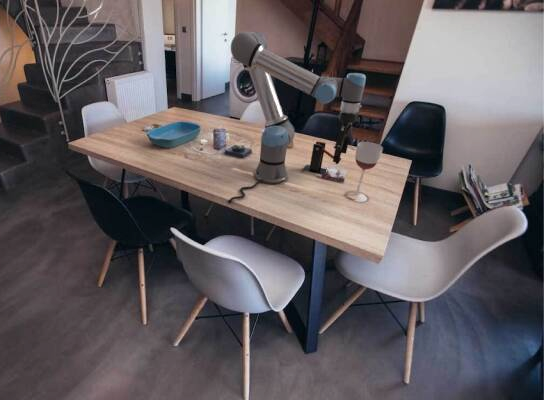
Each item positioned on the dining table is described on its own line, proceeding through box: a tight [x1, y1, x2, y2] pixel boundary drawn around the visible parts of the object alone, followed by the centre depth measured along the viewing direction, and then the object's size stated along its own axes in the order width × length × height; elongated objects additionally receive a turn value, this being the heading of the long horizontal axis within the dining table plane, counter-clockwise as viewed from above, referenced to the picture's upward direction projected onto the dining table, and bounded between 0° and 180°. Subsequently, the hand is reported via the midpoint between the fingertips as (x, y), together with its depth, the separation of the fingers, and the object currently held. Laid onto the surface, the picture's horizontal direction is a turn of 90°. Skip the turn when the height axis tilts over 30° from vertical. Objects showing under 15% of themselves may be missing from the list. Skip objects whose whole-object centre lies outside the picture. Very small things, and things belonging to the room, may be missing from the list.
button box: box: [224, 144, 253, 159], centre depth 173 cm, size 10×12×4 cm
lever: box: [318, 143, 342, 165], centre depth 146 cm, size 13×6×2 cm, turn 59°
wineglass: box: [346, 141, 384, 203], centre depth 127 cm, size 9×10×23 cm
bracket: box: [301, 141, 328, 176], centre depth 150 cm, size 11×8×15 cm
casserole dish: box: [146, 120, 202, 149], centre depth 189 cm, size 37×22×7 cm, turn 146°
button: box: [234, 142, 243, 148], centre depth 171 cm, size 4×4×2 cm
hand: (339, 157), depth 144 cm, fingers open, 13 cm apart
